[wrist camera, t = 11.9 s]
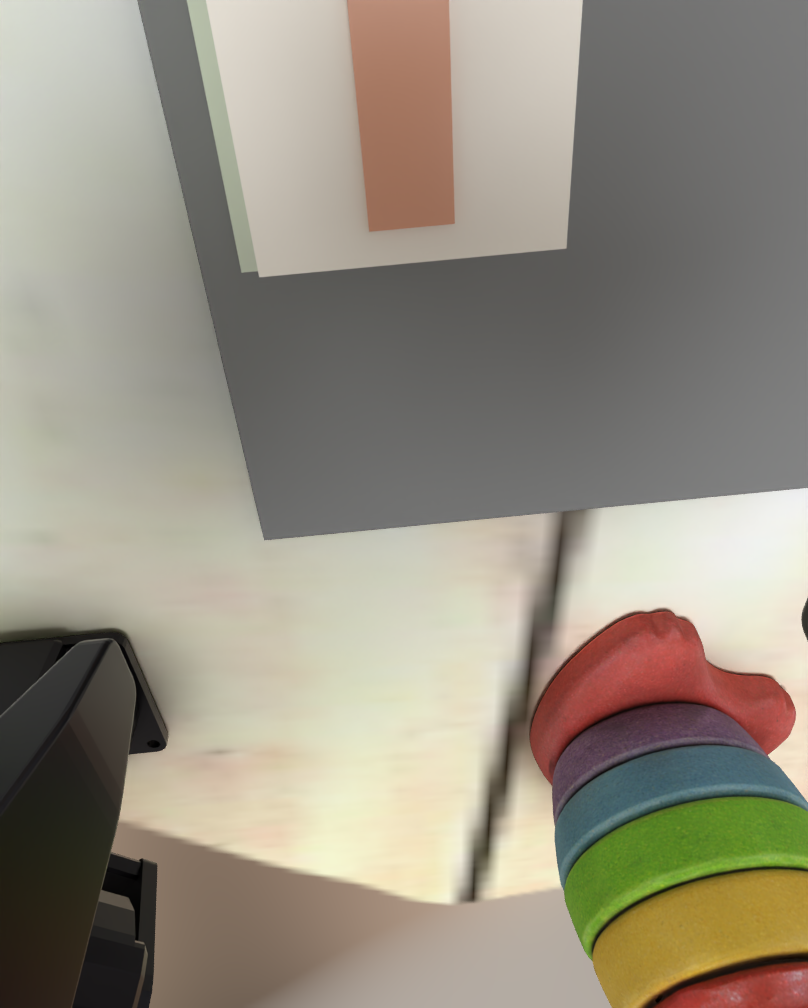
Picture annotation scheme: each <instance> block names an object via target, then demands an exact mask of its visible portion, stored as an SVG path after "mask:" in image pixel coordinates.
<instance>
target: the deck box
mask: <svg viewBox="0 0 808 1008" xmlns="http://www.w3.org/2000/svg"><path fill="white" fill-rule="evenodd" d="M206 4H207V9H208V14H209V19H210V25H211V30H212V35H213V40H214V45H215V51H216V56H217V61H218V66H219V71H220V76H221V82H222V87H223V92H224V97H225V102H226V108H227V113H228V118H229V123H230V128H231V134H232V139H233V144H234V149H235V154H236V160H237V165H238V170H239V175H240V180H241V186H242V191H243V196H244V201H245V206H246V211H247V217H248V222H249V227H250V232H251V237H252V243H253V248H254V253H255V258H256V263H257V269H258V274H259V277H269V276H279V275H290V274H301V273H311V272H322V271H333V270H343V269H354V268H365V267H375V266H386V265H397V264H407V263H418V262H429V261H439V260H450V259H461V258H471V257H482V256H493V255H503V254H514V253H525V252H535V251H546V250H557V249H566V247H567V232H568V217H569V202H570V187H571V171H572V156H573V141H574V126H575V111H576V96H577V80H578V65H579V50H580V35H581V20H582V5H583V0H206Z"/></svg>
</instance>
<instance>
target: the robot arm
mask: <svg viewBox="0 0 808 1008" xmlns="http://www.w3.org/2000/svg"><path fill="white" fill-rule="evenodd" d="M802 627H803V630H804V633H805V635H806V638H807V640H808V598H807V601H806V603H805V606H804V609H803V612H802ZM167 741H168V733H167V730H166V728H165V726H164V723H163V721H162V719H161V716H160V714H159V712H158V710H157V707H156V705H155V703H154V700H153V698H152V696H151V693H150V691H149V689H148V686H147V684H146V682H145V679H144V677H143V675H142V672H141V670H140V668H139V665H138V663H137V661H136V658H135V656H134V654H133V651H132V649H131V647H130V644H129V642H128V640H127V639H126V637H124V636H123V635H121V634H119V633H115V632H107V633H97V634H87V635H76V636H66V637H56V638H46V639H36V640H26V641H16V642H6V643H0V1008H149V1003H150V998H151V994H152V985H153V973H154V943H155V915H156V888H157V863H155V862H152V861H149V860H146V859H140V860H139V861H138V860H135V859H131V858H128V857H125V856H122V855H119V854H116V853H113V852H111V849H112V845H113V841H114V837H115V833H116V829H117V824H118V820H119V816H120V810H121V804H122V798H123V791H124V783H125V776H126V768H127V761H128V754H137V753H147V752H157V751H161V750H163V749H165V747H166V745H167Z"/></svg>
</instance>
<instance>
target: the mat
mask: <svg viewBox="0 0 808 1008" xmlns="http://www.w3.org/2000/svg"><path fill="white" fill-rule="evenodd" d="M138 5H139V9H140V13H141V18H142V22H143V26H144V30H145V35H146V39H147V43H148V47H149V52H150V56H151V60H152V64H153V69H154V73H155V77H156V81H157V86H158V90H159V94H160V98H161V103H162V107H163V111H164V115H165V120H166V124H167V128H168V132H169V137H170V141H171V145H172V149H173V154H174V158H175V162H176V166H177V171H178V175H179V179H180V184H181V188H182V192H183V196H184V201H185V205H186V209H187V213H188V218H189V222H190V226H191V230H192V235H193V239H194V243H195V247H196V252H197V256H198V260H199V264H200V269H201V273H202V277H203V281H204V286H205V290H206V294H207V298H208V303H209V307H210V311H211V315H212V320H213V324H214V328H215V332H216V337H217V341H218V345H219V349H220V354H221V358H222V362H223V367H224V371H225V375H226V379H227V384H228V388H229V392H230V396H231V401H232V405H233V409H234V413H235V418H236V422H237V426H238V430H239V435H240V439H241V443H242V447H243V452H244V456H245V460H246V464H247V469H248V473H249V477H250V481H251V486H252V490H253V494H254V498H255V503H256V507H257V511H258V515H259V520H260V524H261V528H262V533H263V537H264V540H272V539H282V538H293V537H303V536H313V535H324V534H334V533H344V532H355V531H365V530H375V529H386V528H396V527H406V526H417V525H427V524H437V523H448V522H458V521H468V520H479V519H489V518H499V517H510V516H520V515H531V514H541V513H551V512H562V511H572V510H582V509H593V508H603V507H613V506H624V505H634V504H644V503H655V502H665V501H675V500H686V499H696V498H706V497H717V496H727V495H738V494H748V493H758V492H769V491H779V490H789V489H800V488H808V0H583V5H582V20H581V35H580V50H579V65H578V80H577V96H576V111H575V126H574V141H573V156H572V171H571V187H570V202H569V217H568V232H567V247H566V249H557V250H546V251H535V252H525V253H514V254H503V255H493V256H482V257H471V258H461V259H450V260H439V261H429V262H418V263H407V264H397V265H386V266H375V267H365V268H354V269H343V270H333V271H322V272H311V273H301V274H290V275H279V276H269V277H259V274H258V269H257V263H256V258H255V253H254V248H253V243H252V237H251V232H250V227H249V222H248V217H247V211H246V206H245V201H244V196H243V191H242V186H241V180H240V175H239V170H238V165H237V160H236V154H235V149H234V144H233V139H232V134H231V128H230V123H229V118H228V113H227V108H226V102H225V97H224V92H223V87H222V82H221V76H220V71H219V66H218V61H217V56H216V51H215V45H214V40H213V35H212V30H211V25H210V19H209V14H208V9H207V4H206V0H138Z"/></svg>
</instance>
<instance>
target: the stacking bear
mask: <svg viewBox="0 0 808 1008" xmlns="http://www.w3.org/2000/svg"><path fill="white" fill-rule="evenodd" d="M795 719H796V711H795V707H794V704H793V702H792V700H791V697H790V695H789V694H788V693H787V692H786V691H785V690H783V689H782V688H780V685H779V684H778V683H777V682H776V681H775V680H773V679H770V678H767V677H763V676H746V675H736V674H730V673H727V672H723V671H721V670H719V669H717V668H715V667H714V666H712V665H711V664H710V663H708V662H707V661H706V660H705V654H704V649H703V645H702V642H701V640H700V637H699V635H698V633H697V631H696V629H695V627H694V625H693V624H691V623H690V622H688V621H685V620H682V619H679V618H677V617H676V616H675V615H674V613H672V612H669V611H666V612H656V613H650V614H637V615H634V616H631V617H628V618H626V619H623V620H621V621H619V622H617V623H616V624H614V625H613V626H611V627H610V628H608V629H607V630H605V631H604V632H603V633H601V634H600V635H599V636H597V637H596V638H595V639H594V640H592V641H591V642H590V643H589V644H588V645H586V646H585V647H584V648H583V649H582V650H581V651H580V652H579V653H578V654H577V655H576V656H575V657H574V658H572V659H571V660H570V661H569V662H568V664H567V665H566V666H565V667H564V668H563V669H562V670H561V671H560V672H559V674H558V675H557V676H556V678H555V679H554V680H553V682H552V683H551V685H550V686H549V688H548V689H547V691H546V693H545V694H544V696H543V698H542V700H541V702H540V704H539V706H538V709H537V711H536V713H535V716H534V719H533V723H532V728H531V733H530V743H531V749H532V752H533V755H534V758H535V760H536V762H537V764H538V766H539V768H540V769H541V771H542V773H543V775H544V776H545V777H546V779H547V780H548V781H549V782H550V784H551V785H552V786H553V787H552V799H553V816H554V824H555V847H556V856H557V864H558V870H559V876H560V882H561V885H562V887H563V890H564V895H565V902H566V905H567V908H568V910H569V913H570V916H571V919H572V922H573V924H574V927H575V930H576V932H577V934H578V937H579V939H580V941H581V944H582V946H583V948H584V951H585V952H586V954H587V955H588V957H589V958H590V959H591V960H592V961H593V965H594V969H595V972H596V975H597V977H598V979H599V981H600V984H601V986H602V988H603V990H604V992H605V994H606V996H607V998H608V1000H609V1003H610V1005H611V1006H612V1008H808V802H807V801H806V800H805V798H804V797H803V796H802V795H801V793H800V792H799V791H798V789H797V788H796V787H795V785H794V784H793V783H792V782H791V780H790V779H789V778H788V777H787V776H786V774H785V773H784V772H783V771H782V769H781V768H780V767H779V766H778V765H777V764H775V763H774V762H773V761H771V760H770V758H769V757H768V754H769V753H771V752H772V751H773V750H775V749H776V748H777V747H778V746H779V745H780V744H781V743H782V742H783V741H784V740H786V739H787V738H788V736H789V735H790V733H791V730H792V728H793V725H794V723H795Z"/></svg>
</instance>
